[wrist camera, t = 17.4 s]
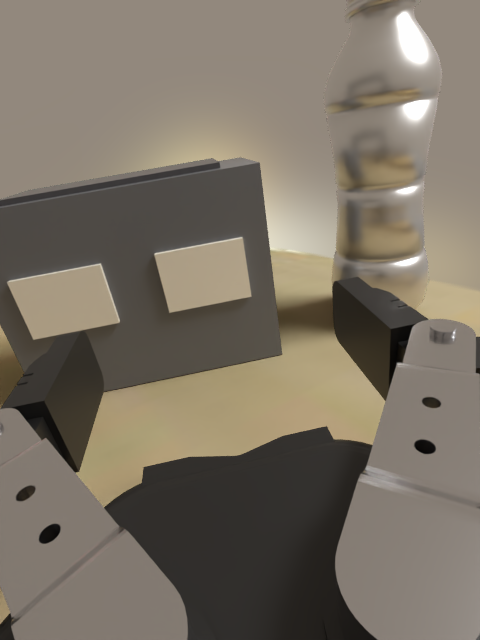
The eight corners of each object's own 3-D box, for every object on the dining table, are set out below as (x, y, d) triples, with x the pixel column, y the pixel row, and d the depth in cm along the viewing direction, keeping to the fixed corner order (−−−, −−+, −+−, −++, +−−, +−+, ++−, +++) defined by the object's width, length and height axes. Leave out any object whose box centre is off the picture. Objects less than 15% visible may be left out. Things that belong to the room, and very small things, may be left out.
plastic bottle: (398, 340, 24) (417, -75, 15) (315, 315, 29) (293, -11, 20) (442, 303, 28) (478, -52, 19) (361, 287, 33) (360, -3, 24)
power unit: (69, 350, 30) (3, 193, 25) (261, 311, 31) (239, 152, 26) (38, 408, 24) (-60, 212, 18) (283, 356, 25) (260, 156, 19)
